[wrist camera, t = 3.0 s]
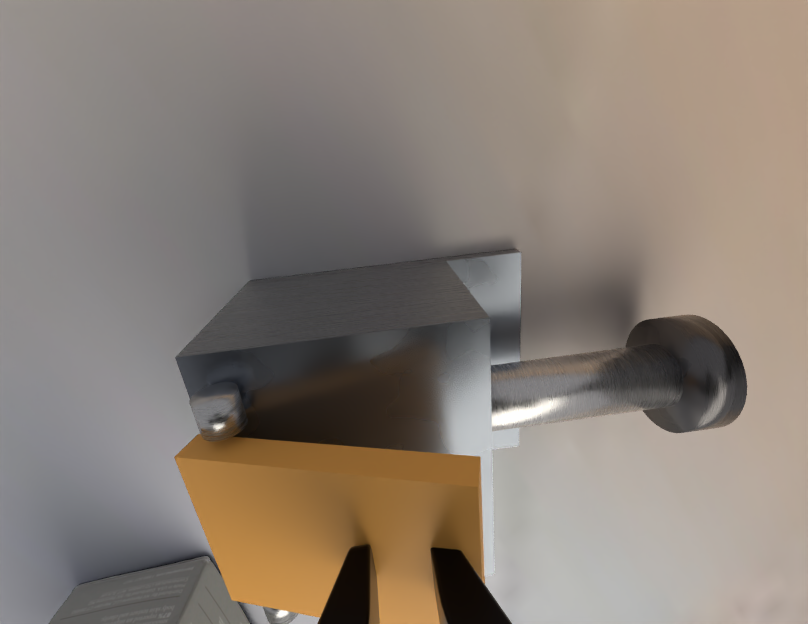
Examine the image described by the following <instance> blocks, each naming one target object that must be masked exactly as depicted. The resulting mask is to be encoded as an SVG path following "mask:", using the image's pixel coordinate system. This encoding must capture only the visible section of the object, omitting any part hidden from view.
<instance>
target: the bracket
mask: <svg viewBox="0 0 808 624" xmlns="http://www.w3.org/2000/svg"><path fill="white" fill-rule="evenodd" d="M520 324H521V252H520V251H519V250H517V249H512V250H503V251H495V252H487V253H478V254H470V255H461V256H453V257H445V258H436V259H428V260H419V261H411V262H403V263H394V264H386V265H378V266H369V267H361V268H352V269H344V270H336V271H327V272H319V273H311V274H302V275H294V276H285V277H277V278H269V279H260V280H252V281H249V282H248V283H247V284H246V285H245V286H244V287H243V288H242V289H241V290H240V291H239V292H238V293H237V294H236V295H235V296H234V297H233V299H232V300H231V301H230V302H229V303H228V304H227V305H226V306H225V307H224V308H223V309H222V310H221V311H220V312H219V313H218V314H217V315H216V316H215V317H214V318H213V319H212V320H211V321H210V322H209V323H208V324H207V325H206V326H205V327H204V328H203V329H202V330H201V332H200V333H199V334H198V335H197V336H196V337H195V338H194V339H193V340H192V341H191V342H190V343H189V344H188V345H187V346H186V347H185V348H184V349H183V350H182V351H181V352H180V353H179V354H178V355H177V356H176V357H175V358H176V361H177V364H178V367H179V369H180V372H181V375H182V378H183V380H184V383H185V386H186V389H187V392H188V394H189V397H190V406H191V408H192V411H193V414H194V417H195V419H196V422H197V425H198V428H199V431H200V433H201V436H202V438H203V439H204V440H206V441H210V442H216V441H221V440H225V439H228V438H230V437H242V438H254V439H267V440H279V441H292V442H304V443H317V444H329V445H342V446H354V447H367V448H379V449H392V450H405V451H417V452H430V453H442V454H455V455H467V456H480V458H481V487H482V516H483V546H484V575H485V576H491V575H495V558H494V507H493V456H492V450H495V449H502V448H509V447H516V446H519V428H512V429H505V430H498V431H492V406H491V365H497V364H505V363H512V362H520ZM263 608H264V611H265V614H266V617H267V619H268V621H269V623H270V624H288V623H290V622H291V621H292V620H293V619H294V618H295V617H296V616H297V615H298V613H294V612H289V611H284V610H279V609H274V608H269V607H264V606H263Z"/></svg>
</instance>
